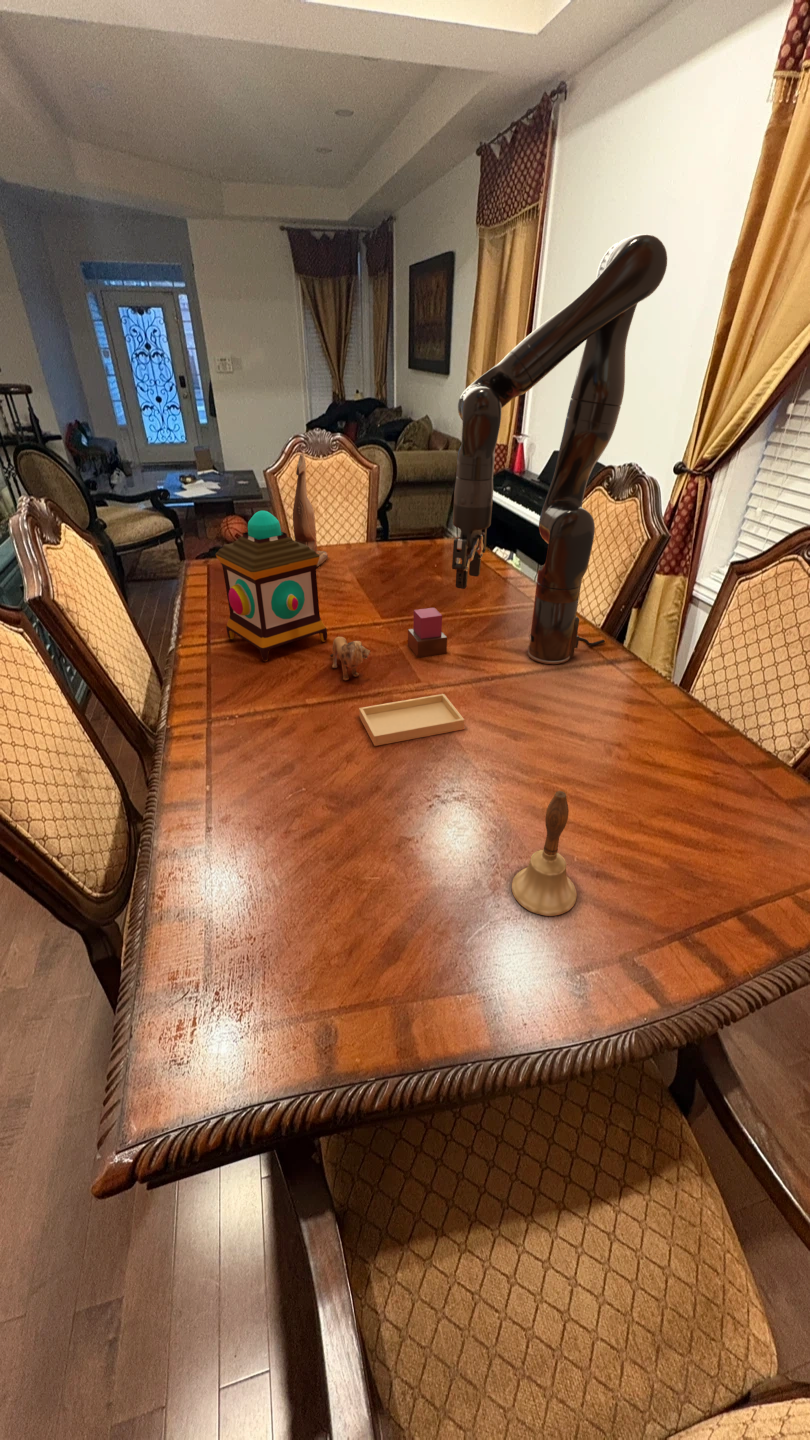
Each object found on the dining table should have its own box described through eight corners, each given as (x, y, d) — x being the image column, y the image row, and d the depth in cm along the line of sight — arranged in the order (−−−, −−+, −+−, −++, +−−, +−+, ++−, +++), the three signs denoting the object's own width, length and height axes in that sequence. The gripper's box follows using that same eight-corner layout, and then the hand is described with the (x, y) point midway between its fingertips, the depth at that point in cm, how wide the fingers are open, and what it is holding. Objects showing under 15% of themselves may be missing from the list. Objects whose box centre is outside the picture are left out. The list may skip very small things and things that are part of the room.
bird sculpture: (284, 566, 191) (272, 457, 174) (295, 555, 201) (286, 451, 184) (318, 568, 190) (310, 458, 173) (328, 557, 199) (321, 452, 182)
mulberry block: (433, 627, 141) (434, 607, 138) (441, 636, 137) (442, 615, 134) (413, 630, 140) (413, 610, 137) (420, 639, 136) (421, 618, 133)
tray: (443, 702, 120) (443, 693, 119) (464, 729, 112) (464, 719, 111) (359, 717, 115) (359, 707, 114) (374, 746, 107) (374, 736, 106)
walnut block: (435, 641, 144) (436, 625, 142) (446, 653, 139) (447, 637, 137) (407, 645, 142) (407, 629, 140) (417, 657, 137) (418, 641, 135)
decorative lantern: (261, 667, 133) (242, 528, 117) (219, 638, 145) (196, 509, 129) (336, 641, 144) (327, 511, 128) (291, 617, 157) (278, 495, 141)
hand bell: (505, 869, 82) (516, 775, 74) (564, 865, 83) (583, 772, 74) (520, 918, 75) (535, 821, 67) (585, 914, 76) (608, 817, 67)
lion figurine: (373, 681, 127) (372, 642, 123) (351, 688, 125) (349, 648, 120) (340, 655, 138) (338, 618, 133) (319, 661, 135) (316, 623, 130)
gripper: (480, 511, 112) (474, 595, 121) (501, 496, 123) (494, 574, 132) (442, 507, 115) (438, 589, 123) (466, 492, 126) (462, 569, 134)
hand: (467, 581), depth 127 cm, fingers open, 8 cm apart
